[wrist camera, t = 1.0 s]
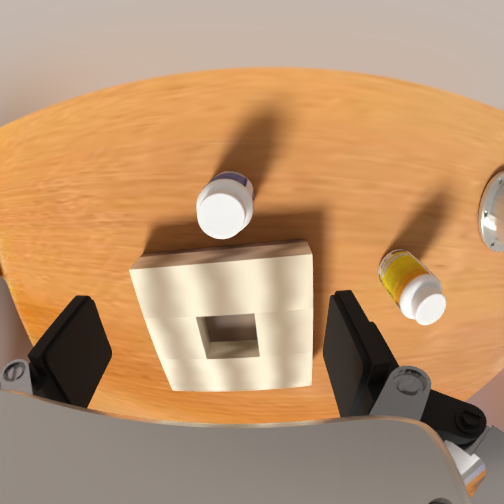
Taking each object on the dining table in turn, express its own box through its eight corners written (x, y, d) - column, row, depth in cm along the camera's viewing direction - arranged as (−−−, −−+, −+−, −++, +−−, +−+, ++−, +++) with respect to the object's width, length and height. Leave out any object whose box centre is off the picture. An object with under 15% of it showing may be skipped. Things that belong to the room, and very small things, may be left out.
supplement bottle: (368, 276, 35) (399, 323, 26) (391, 240, 33) (431, 278, 24) (398, 291, 36) (431, 336, 27) (420, 257, 34) (460, 296, 25)
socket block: (305, 238, 34) (312, 254, 29) (307, 363, 41) (311, 385, 37) (142, 253, 35) (128, 269, 31) (178, 369, 42) (172, 390, 38)
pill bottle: (197, 187, 32) (176, 207, 23) (236, 161, 30) (228, 171, 22) (224, 225, 33) (213, 257, 25) (263, 201, 32) (265, 225, 24)
